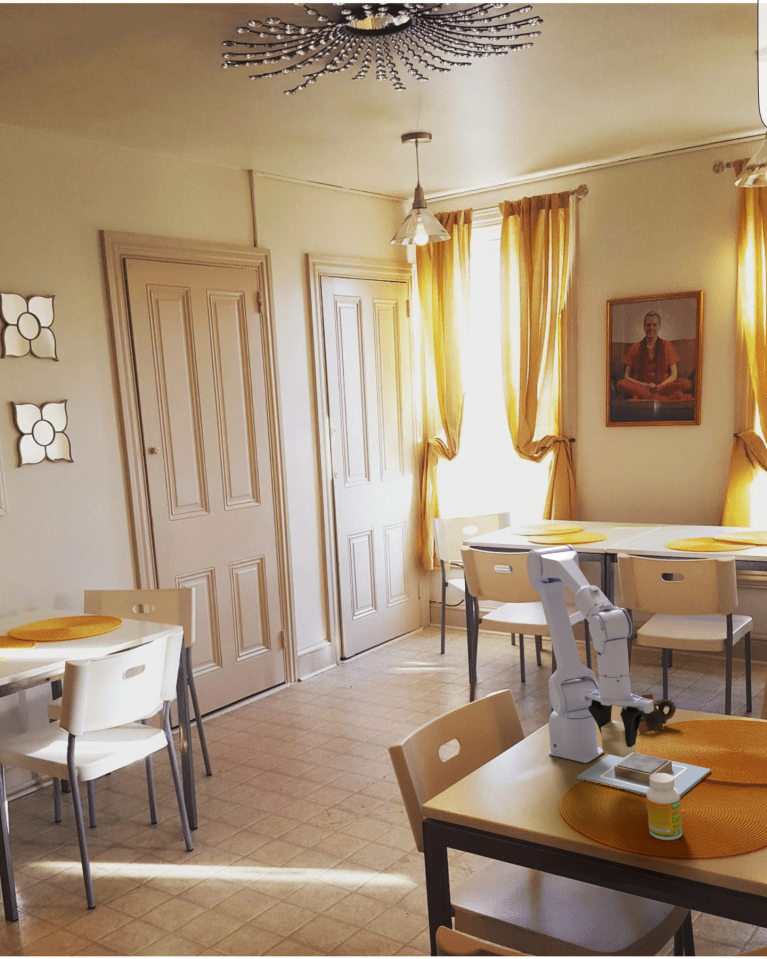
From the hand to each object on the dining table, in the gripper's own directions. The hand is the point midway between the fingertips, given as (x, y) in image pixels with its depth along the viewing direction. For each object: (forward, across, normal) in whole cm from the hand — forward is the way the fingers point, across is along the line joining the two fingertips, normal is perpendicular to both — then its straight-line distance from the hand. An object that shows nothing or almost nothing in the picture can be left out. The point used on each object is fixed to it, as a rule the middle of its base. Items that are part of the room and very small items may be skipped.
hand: (619, 742), depth 166 cm
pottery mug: (+9, -11, +31) cm, 34 cm away
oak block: (+2, 0, 0) cm, 2 cm away
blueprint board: (+8, +1, +6) cm, 10 cm away
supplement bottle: (+8, +15, -13) cm, 22 cm away
